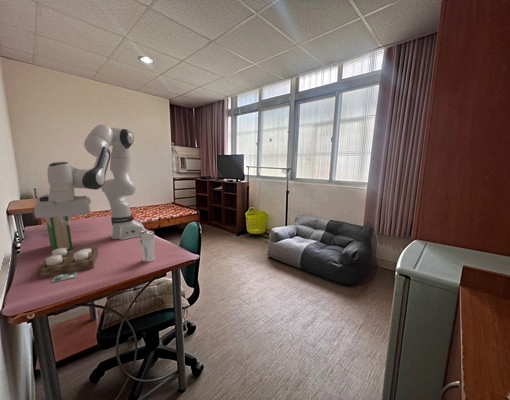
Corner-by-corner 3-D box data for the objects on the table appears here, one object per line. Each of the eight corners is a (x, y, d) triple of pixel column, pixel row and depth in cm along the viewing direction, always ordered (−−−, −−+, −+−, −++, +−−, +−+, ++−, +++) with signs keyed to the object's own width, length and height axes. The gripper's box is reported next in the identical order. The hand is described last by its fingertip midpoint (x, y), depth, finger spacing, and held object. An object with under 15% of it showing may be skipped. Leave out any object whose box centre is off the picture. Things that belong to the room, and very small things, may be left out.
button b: (68, 253, 115) (67, 247, 114) (66, 257, 110) (65, 250, 109) (54, 255, 112) (53, 249, 111) (51, 259, 107) (50, 253, 107)
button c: (89, 256, 111) (88, 249, 111) (87, 260, 106) (87, 253, 106) (75, 258, 108) (74, 252, 108) (73, 263, 104) (72, 256, 103)
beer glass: (140, 263, 111) (137, 235, 109) (143, 257, 118) (140, 230, 115) (155, 261, 113) (152, 233, 111) (157, 256, 120) (155, 229, 117)
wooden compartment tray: (98, 253, 123) (97, 246, 123) (93, 268, 106) (92, 260, 106) (51, 261, 113) (49, 254, 113) (38, 279, 96) (36, 270, 96)
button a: (92, 253, 120) (91, 247, 120) (91, 257, 115) (90, 251, 115) (79, 255, 117) (78, 249, 117) (77, 259, 113) (77, 253, 112)
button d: (64, 260, 106) (62, 253, 106) (61, 265, 102) (60, 258, 101) (48, 263, 104) (47, 256, 103) (44, 268, 99) (43, 261, 98)
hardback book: (72, 249, 129) (66, 209, 124) (56, 253, 123) (49, 211, 119) (66, 242, 140) (60, 205, 136) (50, 245, 134) (43, 207, 130)
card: (77, 272, 102) (77, 271, 102) (75, 277, 97) (75, 276, 97) (55, 276, 99) (55, 275, 98) (51, 282, 93) (51, 281, 93)
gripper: (90, 194, 112) (93, 221, 114) (35, 197, 101) (39, 226, 103) (89, 196, 106) (91, 224, 108) (31, 198, 96) (35, 229, 98)
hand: (65, 225), depth 106 cm, fingers closed
